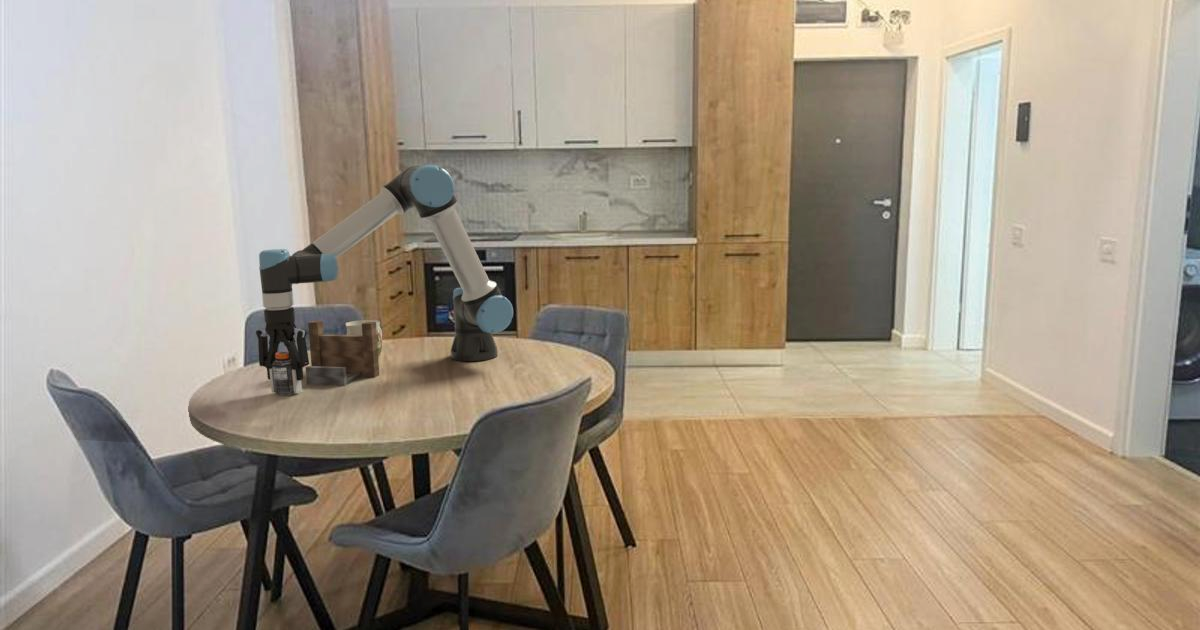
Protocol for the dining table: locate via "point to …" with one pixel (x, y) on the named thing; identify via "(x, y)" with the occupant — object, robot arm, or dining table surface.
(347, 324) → the pitcher
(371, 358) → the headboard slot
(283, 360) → the pill bottle
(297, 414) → the dining table surface
